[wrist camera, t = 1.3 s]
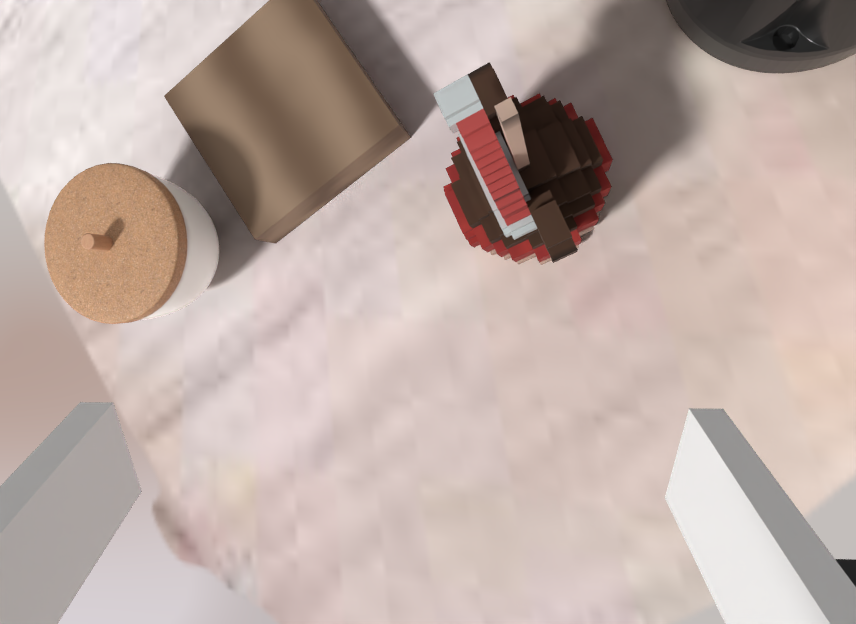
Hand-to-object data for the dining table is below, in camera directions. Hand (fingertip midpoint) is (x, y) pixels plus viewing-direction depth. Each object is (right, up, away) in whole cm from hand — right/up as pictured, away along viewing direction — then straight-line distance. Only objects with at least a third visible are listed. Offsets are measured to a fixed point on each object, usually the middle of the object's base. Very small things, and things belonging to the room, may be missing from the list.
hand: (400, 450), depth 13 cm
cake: (+8, +11, +25) cm, 29 cm away
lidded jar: (-19, +8, +32) cm, 38 cm away
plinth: (-9, +18, +29) cm, 35 cm away
